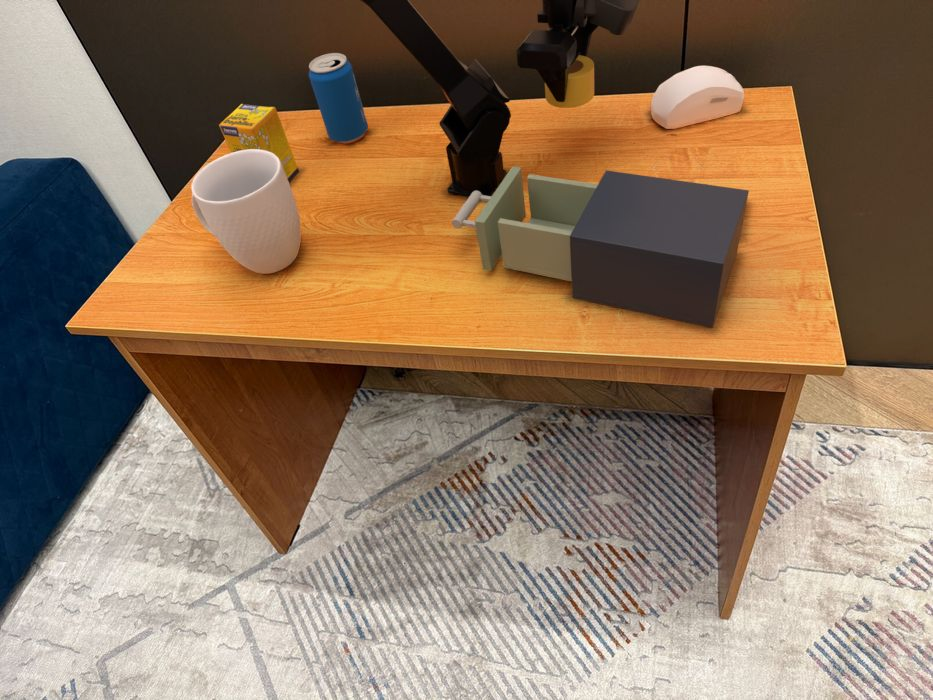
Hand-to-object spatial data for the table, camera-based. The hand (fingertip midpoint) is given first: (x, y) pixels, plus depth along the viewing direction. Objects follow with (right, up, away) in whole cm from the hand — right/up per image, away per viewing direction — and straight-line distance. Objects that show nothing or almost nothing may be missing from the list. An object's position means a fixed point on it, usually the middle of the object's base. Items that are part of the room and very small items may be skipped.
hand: (569, 88), depth 91 cm
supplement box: (-43, -9, +14) cm, 46 cm away
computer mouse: (+20, 0, +10) cm, 22 cm away
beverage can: (-32, 0, +20) cm, 38 cm away
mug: (-40, -22, +2) cm, 46 cm away
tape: (0, -1, +1) cm, 1 cm away
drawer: (-5, -22, -7) cm, 24 cm away
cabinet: (+8, -26, -12) cm, 30 cm away
